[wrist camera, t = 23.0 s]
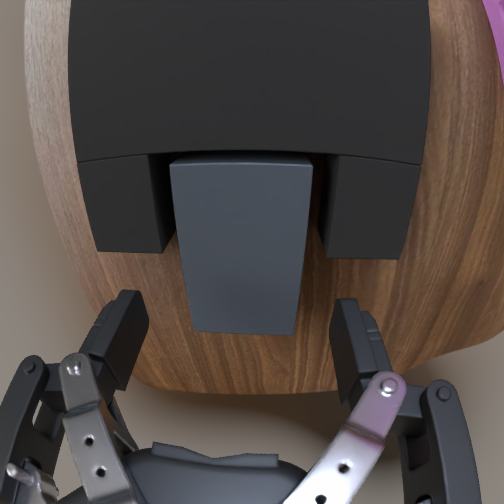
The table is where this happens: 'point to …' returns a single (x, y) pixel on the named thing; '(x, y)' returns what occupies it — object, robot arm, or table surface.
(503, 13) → the bracket
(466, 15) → the table surface
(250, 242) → the pad
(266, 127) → the base pad
